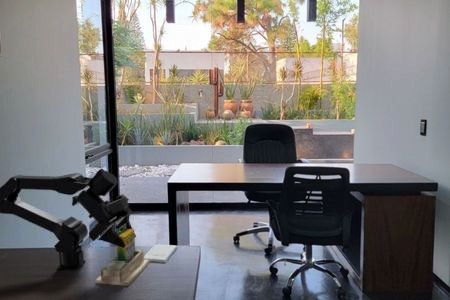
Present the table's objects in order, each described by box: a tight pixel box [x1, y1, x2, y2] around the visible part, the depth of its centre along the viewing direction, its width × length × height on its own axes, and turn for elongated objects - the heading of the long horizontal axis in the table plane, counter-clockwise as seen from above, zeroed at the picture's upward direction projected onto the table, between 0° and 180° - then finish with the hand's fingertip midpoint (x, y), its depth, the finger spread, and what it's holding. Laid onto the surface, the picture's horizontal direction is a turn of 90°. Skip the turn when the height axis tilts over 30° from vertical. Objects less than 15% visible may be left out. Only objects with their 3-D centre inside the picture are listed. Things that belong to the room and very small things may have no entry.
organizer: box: [95, 249, 150, 287], centre depth 125 cm, size 10×16×5 cm, turn 169°
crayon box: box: [115, 224, 136, 263], centre depth 127 cm, size 7×3×12 cm, turn 169°
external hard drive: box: [144, 243, 178, 264], centre depth 139 cm, size 2×8×12 cm
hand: (130, 242), depth 127 cm, fingers open, 7 cm apart
